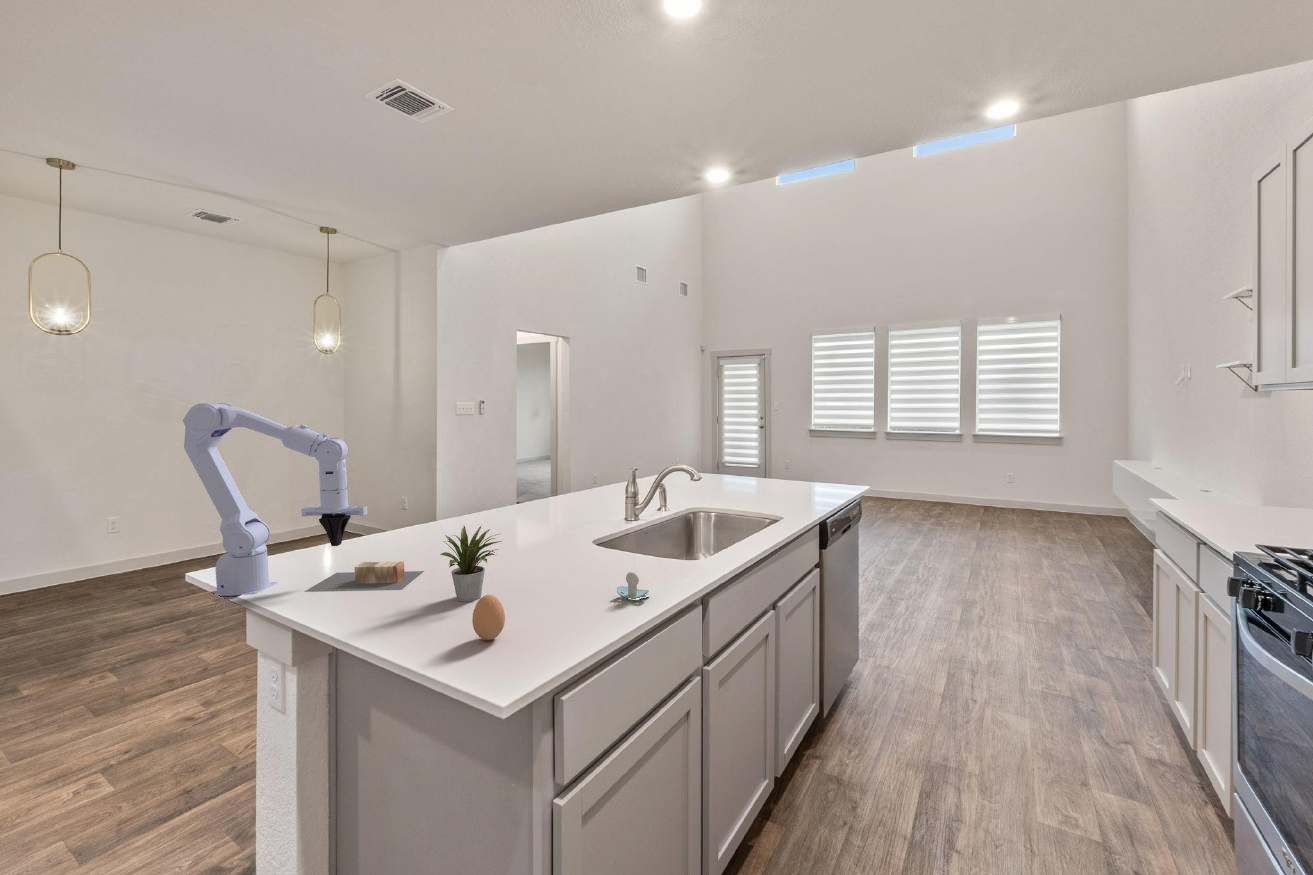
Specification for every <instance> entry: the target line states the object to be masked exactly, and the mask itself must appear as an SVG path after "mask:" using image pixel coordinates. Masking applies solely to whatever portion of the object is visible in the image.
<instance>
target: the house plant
mask: <svg viewBox="0 0 1313 875" xmlns="http://www.w3.org/2000/svg"><path fill="white" fill-rule="evenodd" d="M481 529H482V524H481V525H480V526H479V528H477V530H476V531H475V533H474V534H473V536H472V537H471V539H470V541H469V536H468V534H467V529H466V526H465V525H463V528H461V531H460V537H459V536H458V535H454V534H453V536H454V537H456V538H457V539H458V541H459V543H460V546H459V544H457V542H456V540H455V541H454V539H453V538H451V537H450V536H448V535H446V534H444V536H445V537H446V539H447V542H448V543H449V544H451V545H452V546H453V547H454V548H452V547H451V546H450V545H449V544H448V543H447V542H446V540H445V541H444V540H443V541H442V542H443V543H444V544H446V545H447V546H448V547H449V548H450V549H451V550H452V551H453V552H454V553H455V555H456V556H457V557H456V556H455V555H454V554H453V553H451V552H447V551H445V552H444V551H443V552H442V553H440V554H439V555H441V556H445V557H448V558H450V560H449V563H448V567H449V568H448V569H450V568H451V567H453V566H455V565H457V566H458V567H456V568H454V569H452V570H451V576H452V580H453V585H454V590H455V596H456V601H459V602H467V603H468V602H473V601H477V600H480V599H481V598H482V593H483V584H484V578H485V571H486V568H485V567H484V566H481V565H480V563H481V562H482V561H484V562H485V563H486V564H487V565H488V559H487V557H490V556H496V551H498V550H499V548H498V549H497V548H495V549H492V550H489V549H488V550H483V549H485V548H487V547H489V546H491V545H494V544H498V543H501V542H503V540H500V541H491V540H495V539H496V540H497V537H495V536H499V535H500V533H497V534H493V535H490V536H489V537H487V538H485V537H486V535H487V533H488V532H489V531H491V528H489V529H488V530H485V531H484V532H483V533H482V534H481V535H480V536H479V537H478V535H479V532H480V531H481ZM501 535H503V533H501ZM492 537H493V538H492ZM490 541H491V542H490ZM454 549H455V550H454ZM482 550H483V551H482ZM480 551H481V552H480Z"/></svg>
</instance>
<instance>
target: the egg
mask: <svg viewBox="0 0 1313 875" xmlns="http://www.w3.org/2000/svg"><path fill="white" fill-rule="evenodd" d="M471 620H472V628H473V630H474V632H475V634H476V635H477V636H478V638H480V639H482V640H483V641H493V640H494V639H496V638H497V637H498V636H500V634H501V632H503V630H504V628H505V622H506V614H505V609H504V606H503V605H502V602H501V601H500V599H499V598H498V597H496V596H495V595H493V594H485V595H482V596H481V598H479V599H478V601H477V602H476V604H475V607H474V609H473V612H472V619H471Z"/></svg>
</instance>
